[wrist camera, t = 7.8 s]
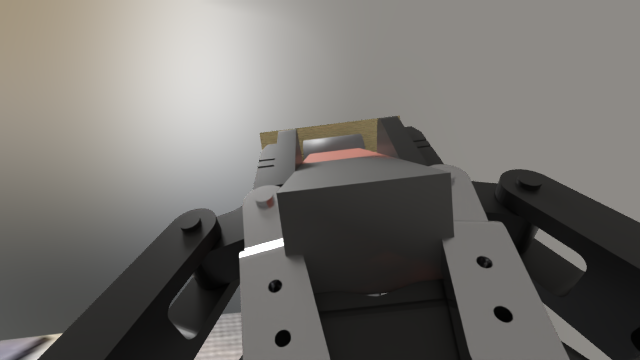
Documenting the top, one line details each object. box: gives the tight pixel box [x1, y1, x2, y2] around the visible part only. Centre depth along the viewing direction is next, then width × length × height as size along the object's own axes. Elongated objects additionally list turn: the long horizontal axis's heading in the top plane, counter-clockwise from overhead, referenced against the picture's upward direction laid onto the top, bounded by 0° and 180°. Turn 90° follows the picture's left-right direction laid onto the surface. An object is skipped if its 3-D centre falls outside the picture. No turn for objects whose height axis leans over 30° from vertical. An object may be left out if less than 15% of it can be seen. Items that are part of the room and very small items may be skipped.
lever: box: [276, 134, 454, 295], centre depth 14 cm, size 17×4×4 cm, turn 0°
